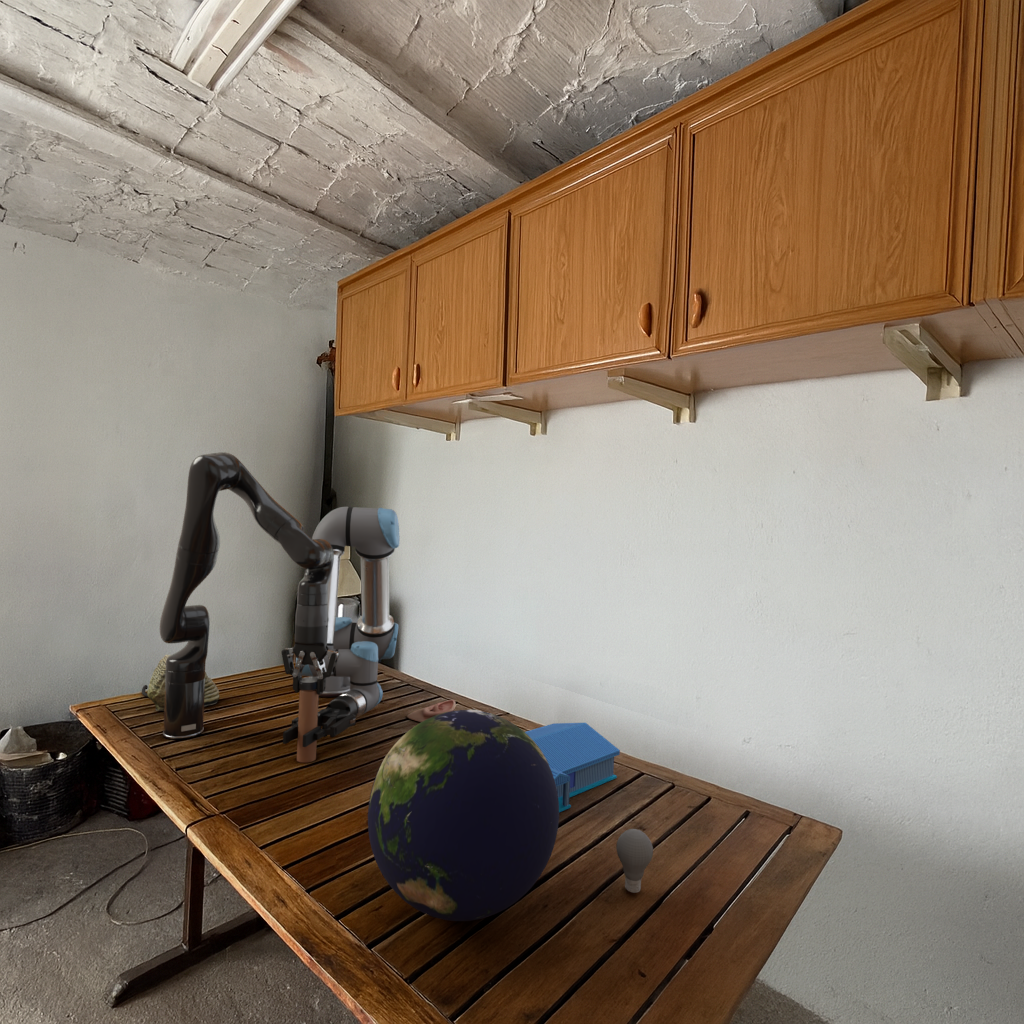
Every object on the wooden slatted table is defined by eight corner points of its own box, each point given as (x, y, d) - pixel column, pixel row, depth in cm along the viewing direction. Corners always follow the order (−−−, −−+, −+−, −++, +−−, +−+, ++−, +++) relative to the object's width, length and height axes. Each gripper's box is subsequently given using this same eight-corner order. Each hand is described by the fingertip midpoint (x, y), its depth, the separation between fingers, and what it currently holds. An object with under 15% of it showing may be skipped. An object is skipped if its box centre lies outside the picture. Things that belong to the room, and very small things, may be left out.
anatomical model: (403, 706, 181) (417, 694, 192) (402, 720, 181) (416, 707, 192) (447, 711, 178) (459, 699, 189) (447, 725, 178) (458, 712, 189)
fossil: (144, 707, 182) (145, 655, 182) (212, 696, 194) (213, 647, 194) (151, 716, 175) (153, 662, 175) (221, 703, 188) (223, 653, 188)
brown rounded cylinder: (296, 763, 150) (299, 685, 149) (296, 756, 154) (299, 680, 154) (316, 761, 151) (319, 684, 151) (315, 754, 155) (318, 679, 155)
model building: (501, 837, 120) (504, 785, 120) (427, 790, 139) (429, 744, 138) (628, 782, 147) (630, 739, 147) (552, 748, 165) (553, 710, 165)
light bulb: (610, 879, 108) (613, 822, 108) (644, 879, 109) (647, 822, 109) (619, 902, 102) (622, 840, 102) (655, 901, 103) (658, 840, 103)
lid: (321, 684, 155) (322, 677, 155) (317, 690, 150) (318, 682, 150) (301, 684, 154) (301, 676, 154) (296, 690, 149) (296, 682, 149)
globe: (322, 932, 92) (330, 728, 92) (425, 835, 120) (432, 678, 119) (512, 1001, 81) (522, 769, 81) (577, 877, 109) (585, 703, 108)
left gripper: (275, 623, 149) (273, 695, 149) (334, 627, 147) (331, 699, 148) (290, 617, 156) (287, 686, 157) (346, 621, 155) (343, 690, 155)
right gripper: (374, 727, 167) (327, 761, 145) (316, 718, 172) (261, 750, 149) (376, 698, 167) (328, 728, 145) (317, 691, 172) (262, 718, 149)
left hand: (309, 692), depth 152 cm, fingers closed on lid, 5 cm apart
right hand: (294, 739), depth 147 cm, fingers closed on brown rounded cylinder, 4 cm apart
